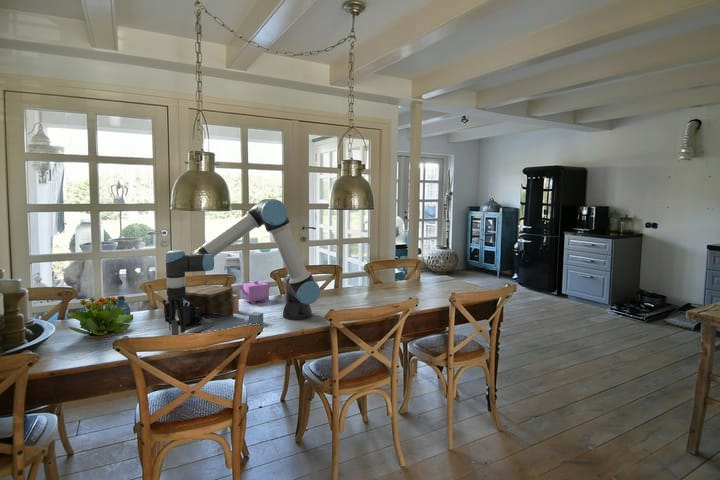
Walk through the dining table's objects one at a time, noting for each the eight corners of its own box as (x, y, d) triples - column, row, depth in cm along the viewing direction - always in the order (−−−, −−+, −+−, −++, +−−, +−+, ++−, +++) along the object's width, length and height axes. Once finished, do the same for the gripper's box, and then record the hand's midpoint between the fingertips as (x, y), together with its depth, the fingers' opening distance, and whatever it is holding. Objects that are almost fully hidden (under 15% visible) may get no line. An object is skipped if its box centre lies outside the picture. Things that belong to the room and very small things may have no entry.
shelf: (233, 315, 220) (232, 287, 219) (211, 324, 204) (210, 294, 202) (205, 311, 226) (204, 284, 225) (181, 320, 210) (180, 291, 208)
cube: (263, 322, 209) (263, 312, 208) (257, 325, 204) (257, 315, 203) (254, 321, 210) (254, 311, 210) (248, 324, 206) (248, 314, 205)
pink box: (266, 298, 259) (266, 278, 257) (272, 301, 250) (272, 280, 249) (234, 302, 248) (234, 281, 246) (239, 306, 239) (239, 284, 238)
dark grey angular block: (216, 324, 203) (215, 306, 202) (178, 340, 181) (177, 320, 180) (195, 321, 208) (194, 303, 207) (156, 336, 186) (155, 317, 185)
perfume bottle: (127, 317, 215) (125, 294, 214) (130, 319, 211) (129, 296, 209) (113, 319, 211) (112, 296, 209) (116, 322, 206) (115, 298, 205)
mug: (197, 328, 198) (197, 308, 197) (174, 327, 200) (173, 307, 199) (206, 323, 206) (205, 304, 205) (183, 322, 208) (182, 303, 207)
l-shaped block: (238, 311, 229) (238, 294, 228) (234, 312, 226) (234, 296, 225) (215, 308, 234) (214, 292, 233) (211, 309, 231) (210, 293, 230)
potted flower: (125, 342, 178) (123, 302, 176) (59, 348, 170) (56, 307, 168) (135, 325, 202) (133, 290, 200) (77, 330, 194) (75, 293, 192)
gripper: (197, 286, 182) (199, 338, 184) (167, 282, 187) (168, 333, 190) (185, 289, 175) (186, 343, 177) (154, 286, 180) (155, 338, 182)
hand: (177, 338), depth 183 cm, fingers closed on dark grey angular block, 4 cm apart
